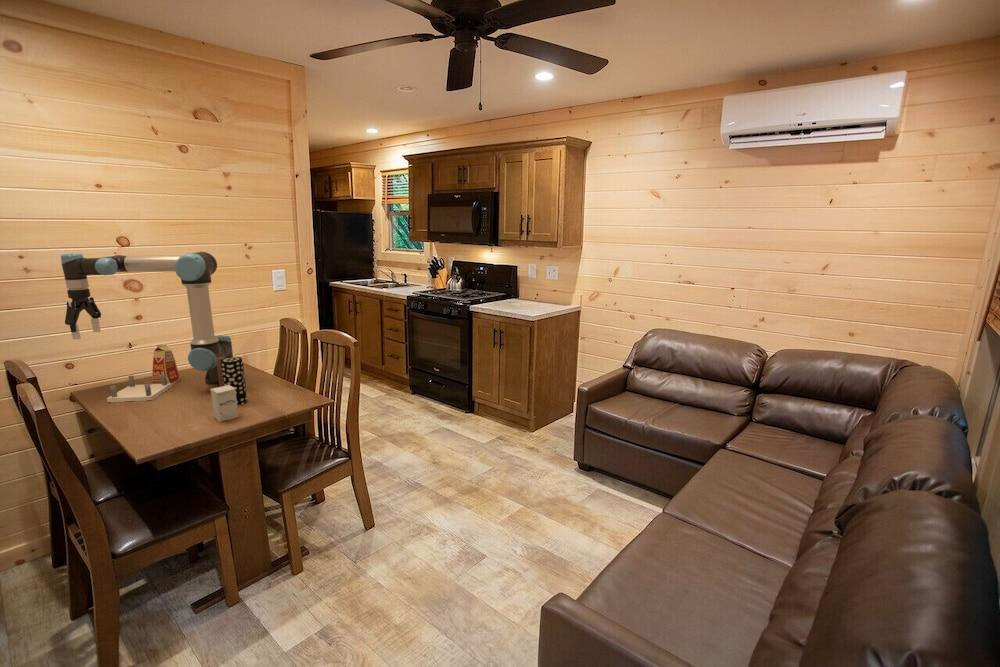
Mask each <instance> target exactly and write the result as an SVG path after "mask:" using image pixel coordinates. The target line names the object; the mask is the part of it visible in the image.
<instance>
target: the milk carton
mask: <svg viewBox="0 0 1000 667" xmlns="http://www.w3.org/2000/svg"><path fill="white" fill-rule="evenodd" d="M152 358H153V359H152V372H151V373H152V374H151V379H152V380H151V384H162V381H161V375H163V374H166V380H167V384H169V383H171V384H172V383H174V382H176V381H178V380H180V381H181V377H180V372H179V369H178V365H177V362H176V358H175V356H174V353H173V350H172V349H170V348H169V347H168V344H163V345H162V344H161V345H159V344H157V345H156V348H155V349H154V350H153V357H152ZM178 382H179V381H178ZM176 383H177V382H176ZM174 384H175V383H174ZM172 385H173V384H172Z"/></svg>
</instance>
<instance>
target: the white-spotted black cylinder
mask: <svg viewBox="0 0 1000 667" xmlns="http://www.w3.org/2000/svg"><path fill="white" fill-rule="evenodd" d="M220 362H221V370H222V377H223V385H224V386H227V385H230V386H232V387H233V388H235V390H236V399H237V406H242V405H244V404H246V403H247V402H248V398H247V387H246V388H245V383H246V379H245V380H244V374H245V370H244V371H243V366H244V362H243V358H242V357H240V356H233V357H229V358H225V359H222V360H221V361H220Z"/></svg>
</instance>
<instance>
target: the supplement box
mask: <svg viewBox="0 0 1000 667" xmlns="http://www.w3.org/2000/svg"><path fill="white" fill-rule="evenodd" d="M209 391H210V397H211V404H212V405H211V406H212V412H213V418H215V419H216V420H217V421H218V422H220V423H222V422H225V421H228V420H232V419H237V418H239V410H238V405H237V399H236V390H235V388H233V387H232V386H230V385H227V386H222V387H220V386H219V387H213V388H210V390H209Z"/></svg>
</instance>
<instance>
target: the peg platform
mask: <svg viewBox="0 0 1000 667" xmlns="http://www.w3.org/2000/svg"><path fill="white" fill-rule="evenodd" d="M161 381H162V384H152V383H145V384H136V382H135V376H134V375H128V383H129V385H128V386H126V387H124V388H122V389H121V390H118V391H117V386H116V385H115V384H113V385H109V388H110V389H109V390H110V394H111V395H110V396H108V397H106V400H107V403H108V402H111V403H126V402H125V401H135V402H148V401H147V400H152V401H154V400H155V399H157V398H159V397H160V396H162V395H163V394H164V393H166V392H167V391H169V390H170V389H172V388H171V387H173V384H171V383H169V384H167V380H166V374H163V375H161ZM169 388H170V389H169ZM168 389H169V390H168ZM165 391H166V392H165ZM163 392H164V393H163ZM162 393H163V394H162ZM159 395H160V396H159ZM156 397H157V398H156ZM153 399H154V400H153Z"/></svg>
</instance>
